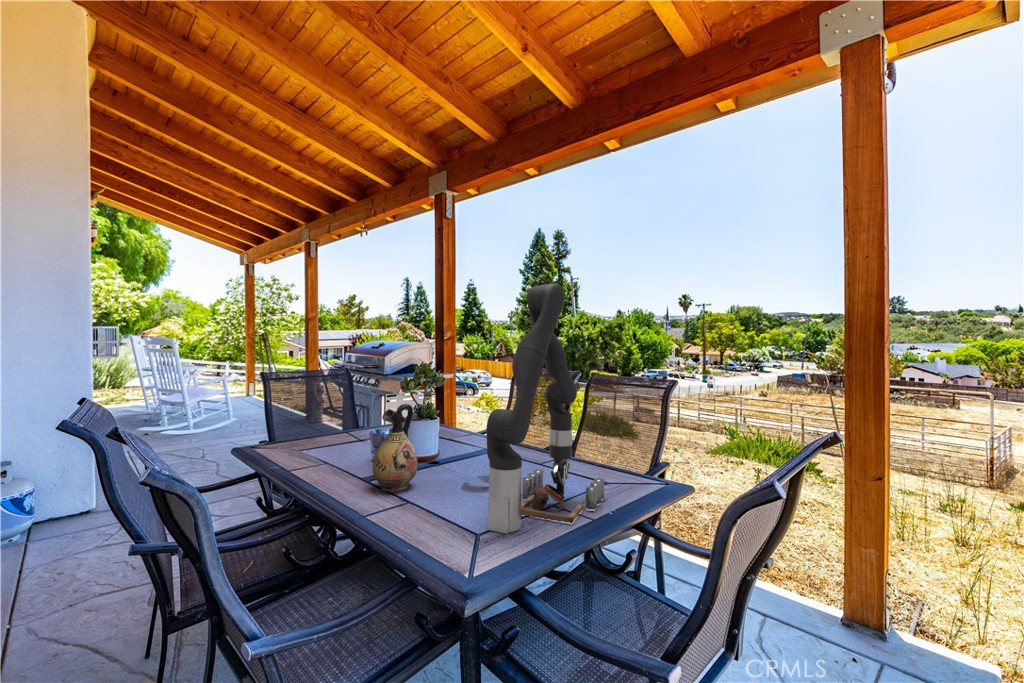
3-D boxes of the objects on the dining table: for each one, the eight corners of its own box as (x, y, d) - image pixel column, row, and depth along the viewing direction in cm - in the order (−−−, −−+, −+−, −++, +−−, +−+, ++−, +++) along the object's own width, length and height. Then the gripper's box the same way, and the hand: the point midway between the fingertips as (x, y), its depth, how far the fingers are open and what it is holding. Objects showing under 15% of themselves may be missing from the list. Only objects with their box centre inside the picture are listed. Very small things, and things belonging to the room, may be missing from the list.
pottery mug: (534, 502, 148) (547, 481, 148) (557, 520, 143) (571, 498, 143) (521, 504, 137) (535, 481, 137) (545, 524, 133) (560, 500, 133)
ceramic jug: (391, 498, 148) (392, 408, 148) (363, 489, 157) (365, 404, 157) (429, 486, 161) (431, 403, 161) (402, 478, 170) (403, 400, 171)
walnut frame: (571, 525, 128) (571, 518, 128) (515, 514, 136) (515, 507, 136) (583, 511, 140) (583, 504, 140) (530, 501, 147) (530, 495, 147)
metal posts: (595, 512, 138) (595, 490, 138) (520, 499, 149) (520, 478, 149) (605, 499, 150) (605, 478, 151) (535, 488, 161) (535, 468, 161)
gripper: (565, 448, 139) (565, 503, 139) (577, 439, 151) (577, 490, 151) (543, 445, 142) (542, 499, 142) (556, 437, 154) (556, 487, 154)
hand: (560, 494), depth 147 cm, fingers closed
